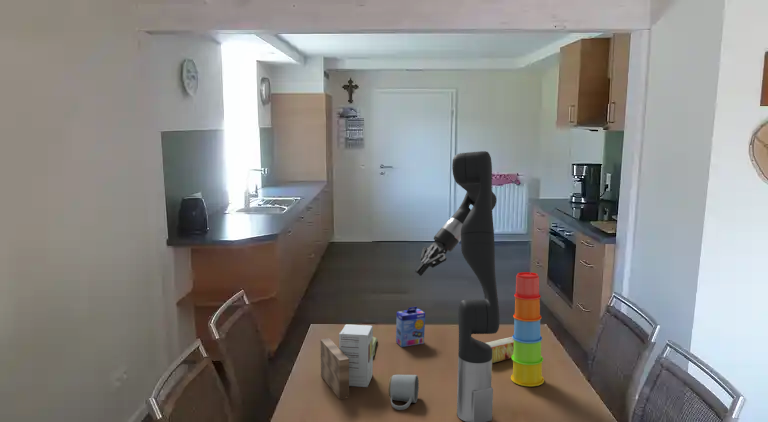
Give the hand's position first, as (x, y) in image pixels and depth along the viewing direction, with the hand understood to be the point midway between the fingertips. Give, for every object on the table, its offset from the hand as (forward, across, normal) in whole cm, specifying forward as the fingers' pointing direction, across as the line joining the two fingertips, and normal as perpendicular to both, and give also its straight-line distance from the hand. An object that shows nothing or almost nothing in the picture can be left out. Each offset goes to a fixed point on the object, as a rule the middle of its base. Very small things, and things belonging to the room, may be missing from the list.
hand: (417, 273), depth 185 cm
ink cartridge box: (+18, -19, +28) cm, 38 cm away
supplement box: (+39, +2, +7) cm, 39 cm away
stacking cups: (+4, +24, +42) cm, 49 cm away
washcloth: (+32, -22, +14) cm, 41 cm away
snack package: (+1, +6, +45) cm, 45 cm away
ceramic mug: (+34, +21, +12) cm, 41 cm away
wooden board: (+44, +3, +1) cm, 44 cm away
